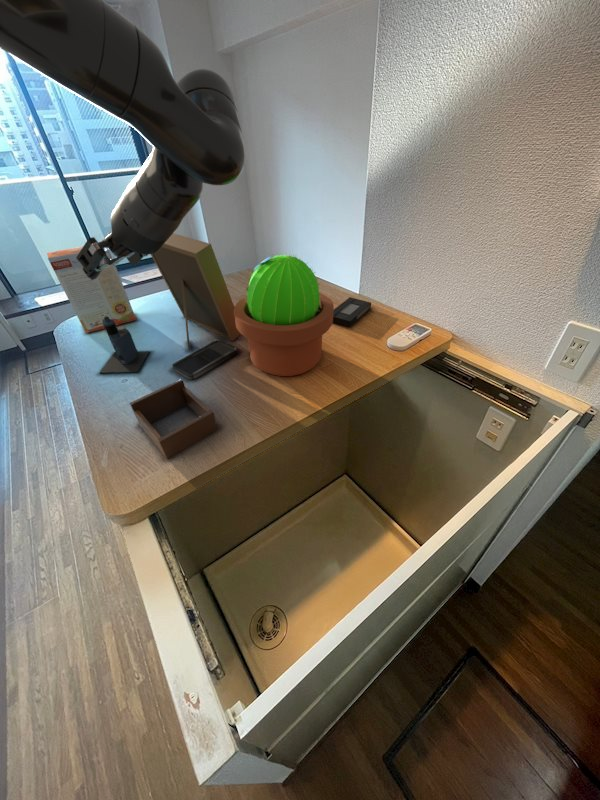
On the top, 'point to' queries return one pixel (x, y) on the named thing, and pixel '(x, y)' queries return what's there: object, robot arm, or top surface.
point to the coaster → (117, 367)
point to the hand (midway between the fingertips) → (110, 267)
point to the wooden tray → (166, 403)
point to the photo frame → (197, 284)
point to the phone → (204, 359)
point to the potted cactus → (284, 316)
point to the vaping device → (121, 341)
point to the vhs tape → (350, 311)
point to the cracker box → (91, 291)
